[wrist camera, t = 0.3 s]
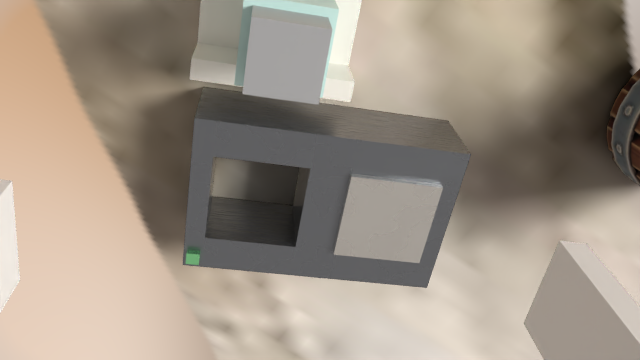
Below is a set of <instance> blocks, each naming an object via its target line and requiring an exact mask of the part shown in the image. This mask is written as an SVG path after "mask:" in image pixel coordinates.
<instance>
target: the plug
mask: <svg viewBox="0 0 640 360" xmlns="http://www.w3.org/2000/svg"><path fill="white" fill-rule="evenodd" d="M338 13H339V8H338V6H337V4H336V1H335V0H244V1H243V10H242V19H241V28H240V37H239V46H238V55H237V64H236V73H235V82H234V85H235V86H242V87H243V92H242V94H245V95H253V96H260V97H267V98H274V99H281V100H289V101H296V102H303V103H310V104H317V105H319V99H320V98H323V92H324V87H325V82H326V76H327V71H328V66H329V60H330V55H331V50H332V45H333V39H334V34H335V29H336V23H337V18H338Z"/></svg>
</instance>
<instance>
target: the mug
mask: <svg viewBox="0 0 640 360" xmlns="http://www.w3.org/2000/svg"><path fill="white" fill-rule="evenodd" d="M610 115H611V118H610V120H609V123H608V125H607V142H608V148H609V150H611V151H612V152H613V160H614V161H615V162H616V164H617V165H618V167H619V168H620V169H621V171H622V172H623V174H624V175H626V176H627V177H628V178H630V179H631V180H632V181H634V182H635V183H636V184H638V185H639V186H640V69H639V70H638V71H637V72H636V73H635V74H634V75H633V76H632V77H631V79H630V80H629V82H628V83H627V84H626V85H625V86H624V87H623V88H622V90H621V92H620V94H619V95H618V97H617V99H616V100H615V103H614V105H613V108H612V110H611V113H610Z"/></svg>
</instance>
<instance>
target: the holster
mask: <svg viewBox="0 0 640 360" xmlns="http://www.w3.org/2000/svg"><path fill="white" fill-rule="evenodd" d="M243 1H244V0H201V3H200V16H199V29H198V41H197V45H196V48H195V50H194V53H193V55H192V58H191V69H190V80H197V81H204V82H211V83H218V84H225V85H232V86H235V85H234V82H235V73H236V64H237V55H238V46H239V37H240V28H241V19H242V10H243ZM335 1H336V4H337V6H338V8H339V13H338V18H337V23H336V29H335V34H334V39H333V45H332V50H331V55H330V60H329V66H328V71H327V76H326V82H325V87H324V92H323V98H325V99H332V100H339V101H346V102H351V98H352V93H353V88H354V83H355V81H354V79H353V76H352V73H351V71H350V68H349V66H348V65H349V60H350V56H351V51H352V46H353V41H354V36H355V31H356V26H357V21H358V17H359V12H360V7H361V2H362V0H335ZM239 87H242V86H239Z"/></svg>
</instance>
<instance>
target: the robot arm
mask: <svg viewBox="0 0 640 360" xmlns="http://www.w3.org/2000/svg"><path fill="white" fill-rule="evenodd" d="M19 281H20V275H19V262H18V249H17V237H16V224H15V211H14V199H13V185H12V181H10V180H1V179H0V312H1V311H2V309H3V307H4V305H5V304H6V302H7V301H8V299H9V297H10V296H11V294H12V292H13V291H14V289H15V287H16V286H17V284H18V282H19ZM524 325H525V327H526V328H527V330H528V332H529V334H530V335H531V337H532V339H533V341H534V343H535V344H536V346H537V348H538V350H539V352H540V353H541V355H542V357H543V359H544V360H640V306H639V305H638V303H637V302H636V301H635V300H634V299H633V297H632V296H631V295H630V294H629V293H628V291H627V290H626V289H625V288H624V287H623V286H622V284H621V283H620V282H619V281H618V280H617V278H616V277H615V276H614V275H613V274H612V273H611V271H610V270H609V269H608V268H607V267H606V265H605V264H604V263H603V262H602V261H601V260H600V258H599V257H598V256H597V255H596V254H595V252H594V251H593V250H592V249H591V248H590V246H589V245H588V244H587V243H577V242H568V241H559V243H558V245H557V247H556V250H555V252H554V254H553V257H552V259H551V261H550V264H549V266H548V268H547V271H546V273H545V275H544V277H543V280H542V282H541V284H540V287H539V289H538V291H537V294H536V296H535V298H534V300H533V303H532V305H531V307H530V310H529V312H528V314H527V317H526V319H525V321H524Z"/></svg>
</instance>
